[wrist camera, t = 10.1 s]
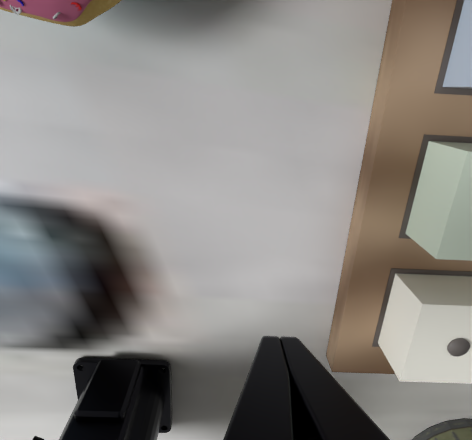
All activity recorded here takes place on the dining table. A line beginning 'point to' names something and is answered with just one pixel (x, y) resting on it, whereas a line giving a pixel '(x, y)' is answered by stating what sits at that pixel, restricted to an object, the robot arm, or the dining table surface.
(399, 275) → the tile one
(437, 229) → the tile two
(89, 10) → the cupcake
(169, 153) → the dining table surface
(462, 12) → the tile three
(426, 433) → the moai stone figurine
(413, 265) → the wooden plank tray
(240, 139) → the dining table surface
